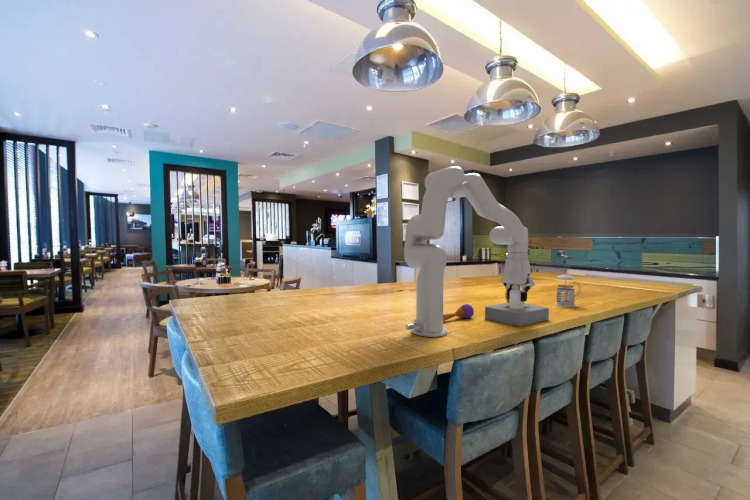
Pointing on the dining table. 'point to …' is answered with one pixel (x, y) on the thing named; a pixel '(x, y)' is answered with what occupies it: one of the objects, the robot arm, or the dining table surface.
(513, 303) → the eye dropper bottle
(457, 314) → the purple maraca
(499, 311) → the box
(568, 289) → the french press
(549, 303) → the dining table surface
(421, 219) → the robot arm
